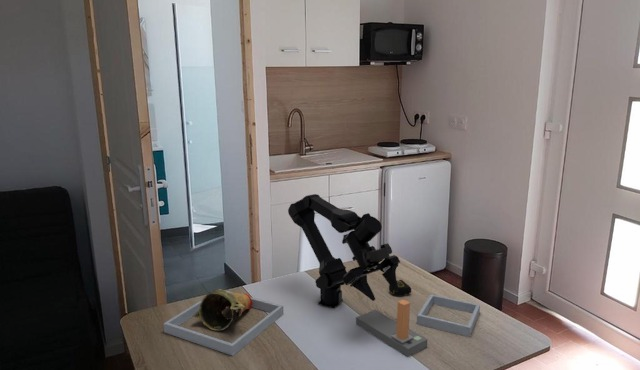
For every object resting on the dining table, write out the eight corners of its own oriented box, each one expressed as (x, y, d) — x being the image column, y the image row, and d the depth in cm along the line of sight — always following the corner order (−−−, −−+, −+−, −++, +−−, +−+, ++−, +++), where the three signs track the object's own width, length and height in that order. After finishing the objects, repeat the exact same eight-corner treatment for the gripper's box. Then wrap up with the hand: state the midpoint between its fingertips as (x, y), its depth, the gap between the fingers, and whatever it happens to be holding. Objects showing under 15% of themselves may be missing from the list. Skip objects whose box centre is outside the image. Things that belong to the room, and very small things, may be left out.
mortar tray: (164, 332, 142) (163, 323, 141) (220, 296, 164) (219, 289, 164) (232, 355, 130) (232, 346, 129) (283, 314, 152) (283, 305, 152)
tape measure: (411, 296, 165) (412, 286, 164) (394, 298, 163) (394, 288, 162) (402, 287, 171) (403, 278, 170) (385, 290, 169) (385, 280, 168)
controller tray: (416, 323, 146) (417, 315, 145) (430, 302, 160) (431, 294, 159) (469, 337, 139) (470, 327, 138) (479, 313, 152) (480, 304, 152)
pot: (266, 280, 155) (234, 286, 137) (272, 317, 153) (240, 328, 135) (220, 289, 162) (183, 296, 144) (225, 325, 159) (189, 336, 142)
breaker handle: (391, 336, 134) (392, 301, 131) (402, 331, 137) (403, 297, 134) (402, 343, 131) (404, 307, 128) (413, 338, 133) (415, 302, 131)
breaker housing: (356, 324, 146) (356, 316, 145) (374, 316, 151) (375, 309, 150) (407, 357, 129) (408, 348, 129) (427, 346, 134) (427, 338, 133)
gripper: (349, 243, 131) (376, 293, 125) (396, 229, 142) (423, 275, 136) (332, 261, 139) (356, 309, 133) (378, 247, 150) (402, 291, 144)
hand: (385, 295), depth 137 cm, fingers open, 9 cm apart
